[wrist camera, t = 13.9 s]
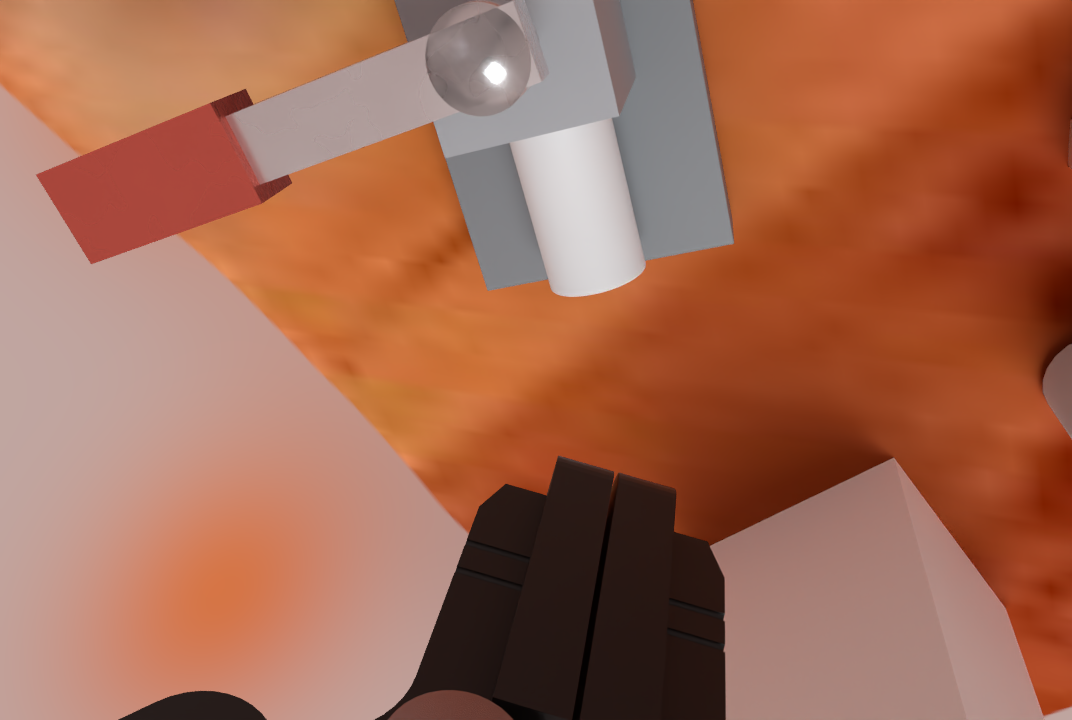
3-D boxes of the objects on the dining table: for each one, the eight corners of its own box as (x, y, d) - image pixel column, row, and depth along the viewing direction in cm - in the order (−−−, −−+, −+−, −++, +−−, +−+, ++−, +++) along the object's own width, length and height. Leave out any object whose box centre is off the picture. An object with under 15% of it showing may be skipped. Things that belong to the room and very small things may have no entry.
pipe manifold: (346, -241, 32) (184, -304, 22) (629, -354, 29) (587, -485, 19) (501, 266, 41) (435, 381, 31) (732, 220, 38) (740, 332, 28)
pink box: (519, -24, 24) (502, -18, 22) (557, 87, 25) (545, 102, 23) (80, 157, 29) (36, 174, 27) (130, 241, 30) (91, 264, 28)
